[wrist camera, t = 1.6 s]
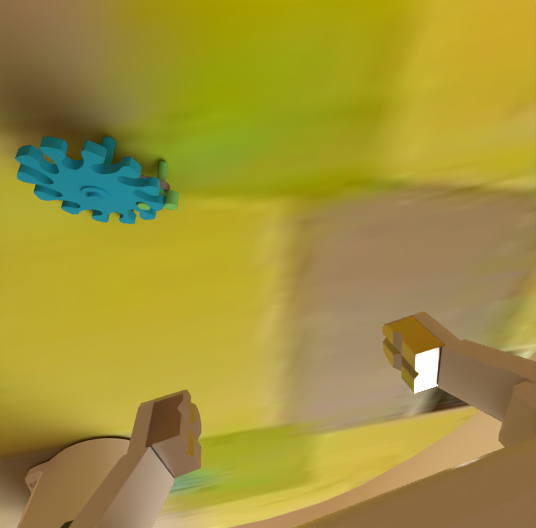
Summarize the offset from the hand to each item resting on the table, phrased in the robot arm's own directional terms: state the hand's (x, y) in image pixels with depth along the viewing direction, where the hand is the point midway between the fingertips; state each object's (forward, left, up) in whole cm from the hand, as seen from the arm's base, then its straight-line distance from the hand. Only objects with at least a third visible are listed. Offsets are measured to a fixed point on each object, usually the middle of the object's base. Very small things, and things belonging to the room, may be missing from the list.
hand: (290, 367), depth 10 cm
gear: (0, +11, -22) cm, 24 cm away
